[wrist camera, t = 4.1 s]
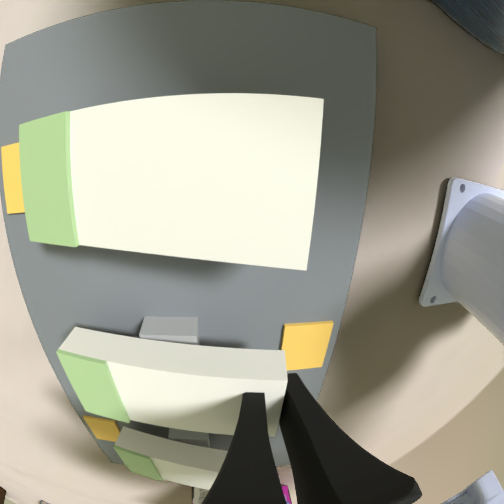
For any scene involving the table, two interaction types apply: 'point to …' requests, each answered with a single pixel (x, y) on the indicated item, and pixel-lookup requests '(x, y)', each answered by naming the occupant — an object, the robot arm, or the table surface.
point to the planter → (478, 19)
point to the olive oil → (2, 495)
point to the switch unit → (187, 269)
